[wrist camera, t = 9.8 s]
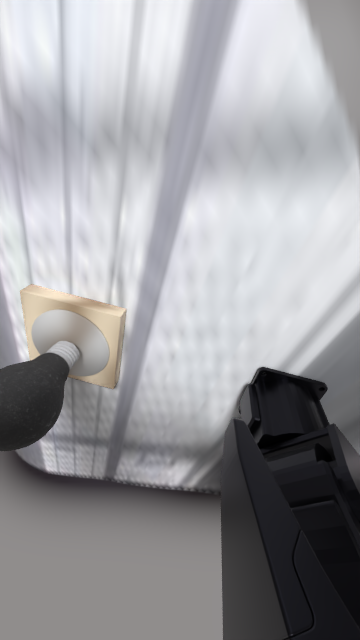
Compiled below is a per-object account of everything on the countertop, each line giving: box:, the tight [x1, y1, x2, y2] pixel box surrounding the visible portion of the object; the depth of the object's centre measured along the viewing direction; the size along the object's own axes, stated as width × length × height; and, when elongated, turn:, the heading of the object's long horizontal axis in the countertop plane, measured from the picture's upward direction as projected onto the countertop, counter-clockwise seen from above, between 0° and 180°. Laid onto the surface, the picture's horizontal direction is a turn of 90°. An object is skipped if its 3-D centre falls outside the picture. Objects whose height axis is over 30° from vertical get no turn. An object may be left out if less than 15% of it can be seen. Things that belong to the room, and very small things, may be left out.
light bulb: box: [0, 341, 79, 451], centre depth 20 cm, size 6×6×10 cm
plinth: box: [20, 284, 126, 389], centre depth 25 cm, size 9×9×2 cm
